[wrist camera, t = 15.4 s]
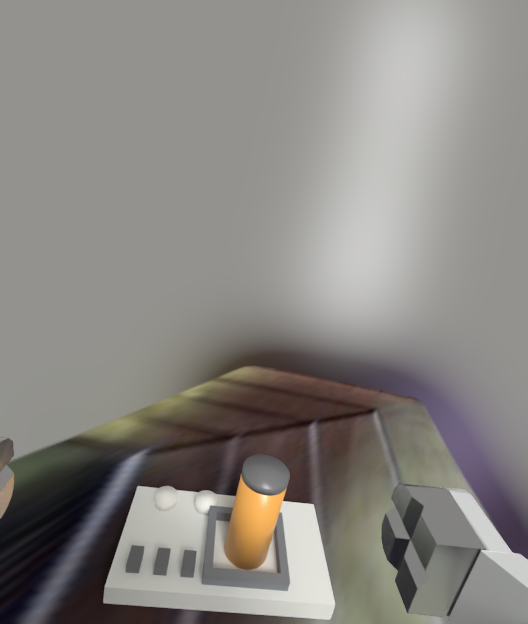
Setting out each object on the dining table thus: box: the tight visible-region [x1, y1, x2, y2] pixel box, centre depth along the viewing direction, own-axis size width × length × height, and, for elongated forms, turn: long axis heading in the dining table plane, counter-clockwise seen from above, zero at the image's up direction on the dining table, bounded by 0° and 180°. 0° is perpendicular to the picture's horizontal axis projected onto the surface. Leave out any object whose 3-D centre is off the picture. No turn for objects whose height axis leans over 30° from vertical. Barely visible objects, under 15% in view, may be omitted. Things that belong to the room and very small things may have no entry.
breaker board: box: [103, 486, 335, 620], centre depth 42 cm, size 21×12×3 cm, turn 93°
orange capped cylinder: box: [224, 455, 290, 570], centre depth 40 cm, size 4×4×10 cm
